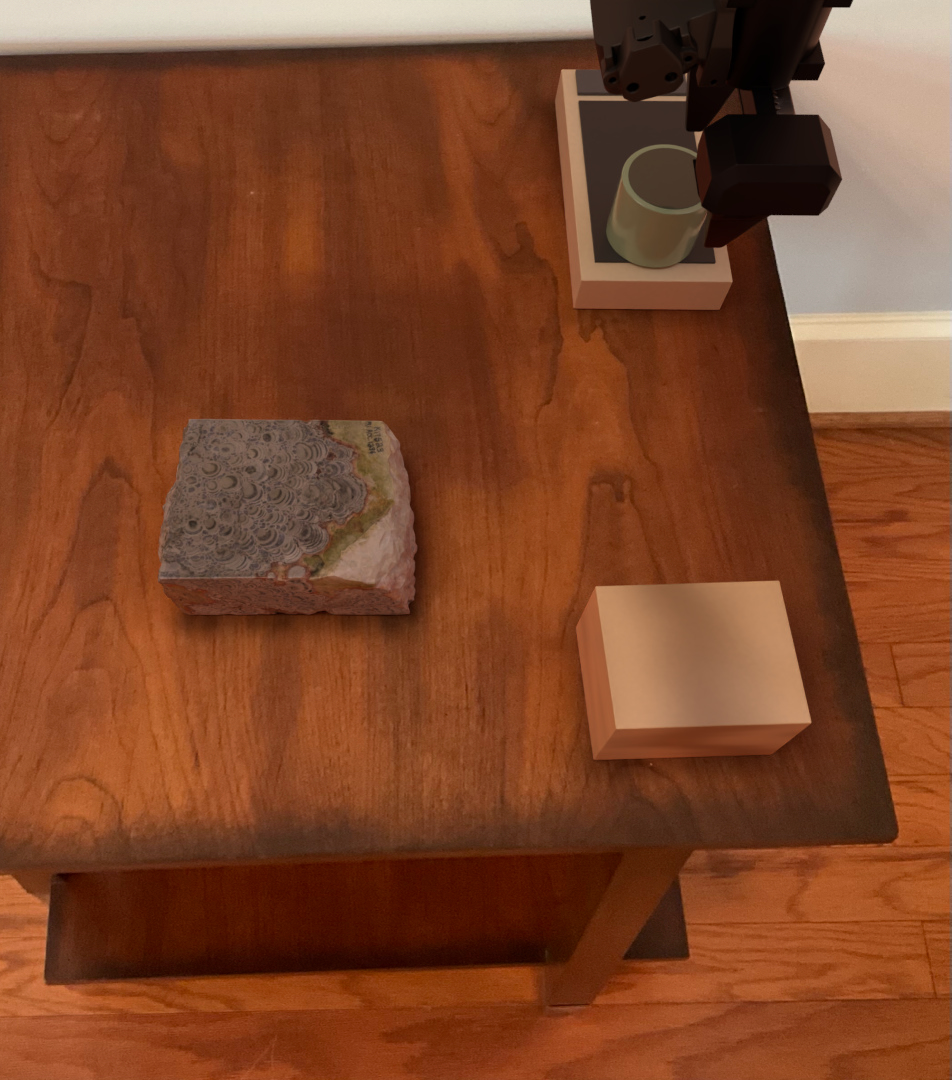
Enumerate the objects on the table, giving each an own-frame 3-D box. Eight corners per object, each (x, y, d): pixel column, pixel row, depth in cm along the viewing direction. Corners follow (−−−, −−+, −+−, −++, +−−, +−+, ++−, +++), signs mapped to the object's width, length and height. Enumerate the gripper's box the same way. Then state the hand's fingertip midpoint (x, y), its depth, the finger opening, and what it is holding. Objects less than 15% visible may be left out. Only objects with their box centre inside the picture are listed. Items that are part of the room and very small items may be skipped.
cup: (664, 189, 75) (684, 132, 71) (712, 249, 73) (736, 194, 68) (589, 217, 74) (604, 161, 70) (635, 279, 72) (654, 226, 67)
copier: (554, 101, 83) (562, 62, 80) (685, 102, 83) (698, 62, 80) (573, 309, 75) (582, 274, 71) (719, 310, 74) (736, 275, 71)
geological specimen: (164, 417, 65) (415, 410, 64) (184, 470, 70) (415, 465, 69) (147, 576, 60) (418, 572, 59) (169, 621, 65) (419, 618, 64)
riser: (744, 621, 64) (779, 580, 59) (772, 754, 60) (812, 723, 55) (575, 627, 64) (595, 585, 59) (593, 760, 61) (616, 729, 55)
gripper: (603, -184, 55) (556, 75, 69) (637, 74, 46) (575, 310, 60) (828, -185, 54) (734, 76, 68) (903, 75, 46) (779, 312, 60)
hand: (702, 185), depth 64 cm, fingers open, 9 cm apart
